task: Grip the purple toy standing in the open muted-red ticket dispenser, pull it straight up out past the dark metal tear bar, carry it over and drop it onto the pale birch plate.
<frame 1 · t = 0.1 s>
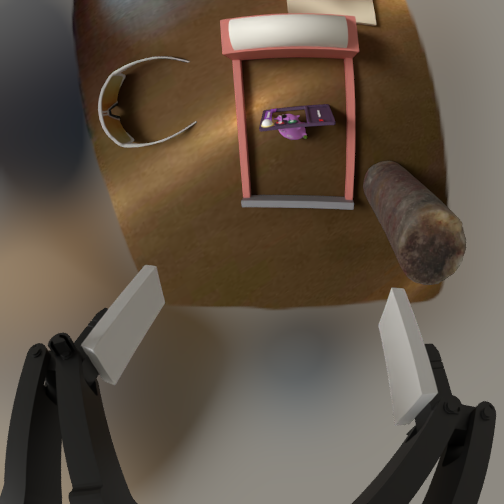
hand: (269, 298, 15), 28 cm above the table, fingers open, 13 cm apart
purple toy: (298, 122, 35), on the table
dispenser: (296, 124, 34), on the table
sunglasses: (151, 101, 36), on the table
brown stone cylinder: (383, 182, 36), on the table
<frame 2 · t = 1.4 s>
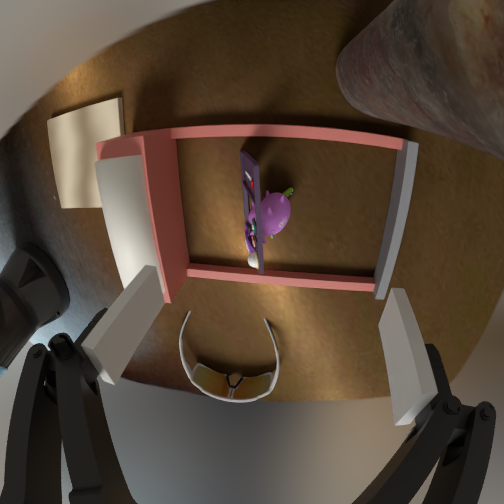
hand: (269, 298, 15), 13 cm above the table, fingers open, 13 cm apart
purple toy: (268, 195, 26), on the table
dispenser: (281, 208, 26), on the table
plate: (87, 157, 26), on the table
sunglasses: (232, 348, 38), on the table
brown stone cylinder: (374, 79, 18), on the table
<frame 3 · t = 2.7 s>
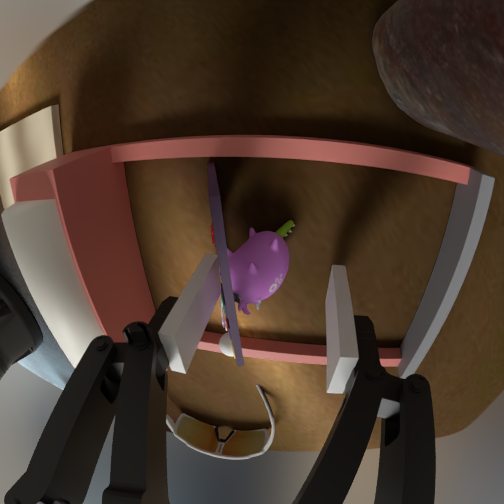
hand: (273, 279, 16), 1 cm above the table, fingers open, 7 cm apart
purple toy: (255, 231, 17), on the table, touching gripper
dispenser: (278, 266, 17), on the table
plate: (30, 184, 18), on the table
sunglasses: (220, 405, 30), on the table
brown stone cylinder: (429, 69, 10), on the table
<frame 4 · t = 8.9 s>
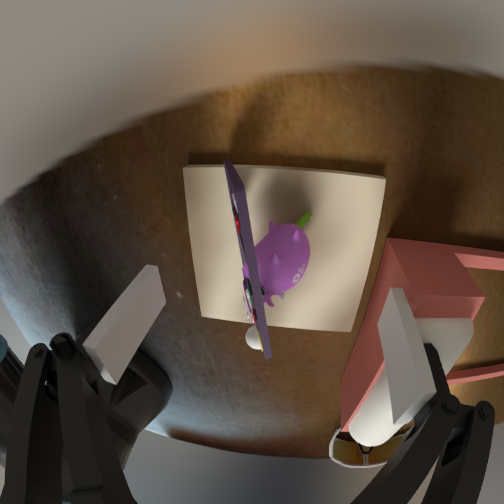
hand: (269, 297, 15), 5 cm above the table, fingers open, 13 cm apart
purple toy: (274, 226, 17), point 1 cm above the table, touching plate
dispenser: (492, 325, 18), on the table
plate: (280, 254, 19), on the table
sunglasses: (379, 423, 30), on the table
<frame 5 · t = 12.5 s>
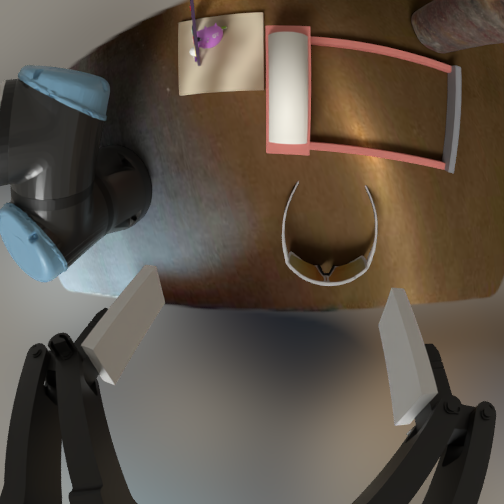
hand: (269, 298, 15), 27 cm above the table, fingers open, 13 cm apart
purple toy: (211, 35, 28), point 1 cm above the table, touching plate
dispenser: (382, 100, 29), on the table
plate: (220, 52, 30), on the table
sunglasses: (329, 228, 41), on the table
brown stone cylinder: (430, 32, 22), on the table
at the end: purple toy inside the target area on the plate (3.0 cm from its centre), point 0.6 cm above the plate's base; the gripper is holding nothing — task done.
